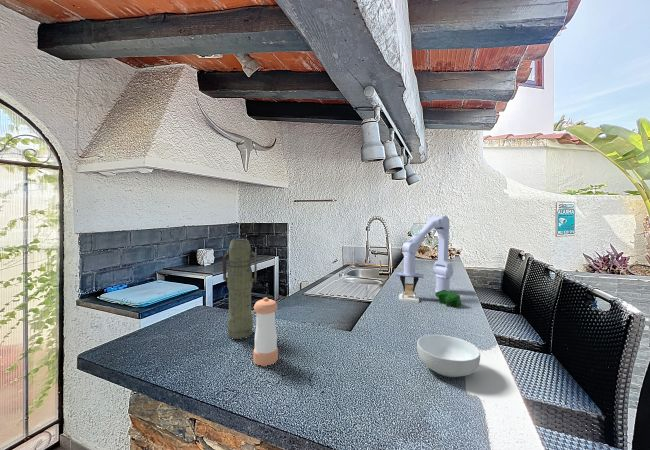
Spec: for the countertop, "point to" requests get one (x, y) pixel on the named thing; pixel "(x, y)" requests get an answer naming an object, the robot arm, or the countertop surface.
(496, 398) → the countertop surface
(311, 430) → the countertop surface
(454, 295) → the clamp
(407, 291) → the block
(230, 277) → the thermos
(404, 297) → the plate
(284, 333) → the countertop surface
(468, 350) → the cereal bowl
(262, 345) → the pepper shaker
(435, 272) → the robot arm
